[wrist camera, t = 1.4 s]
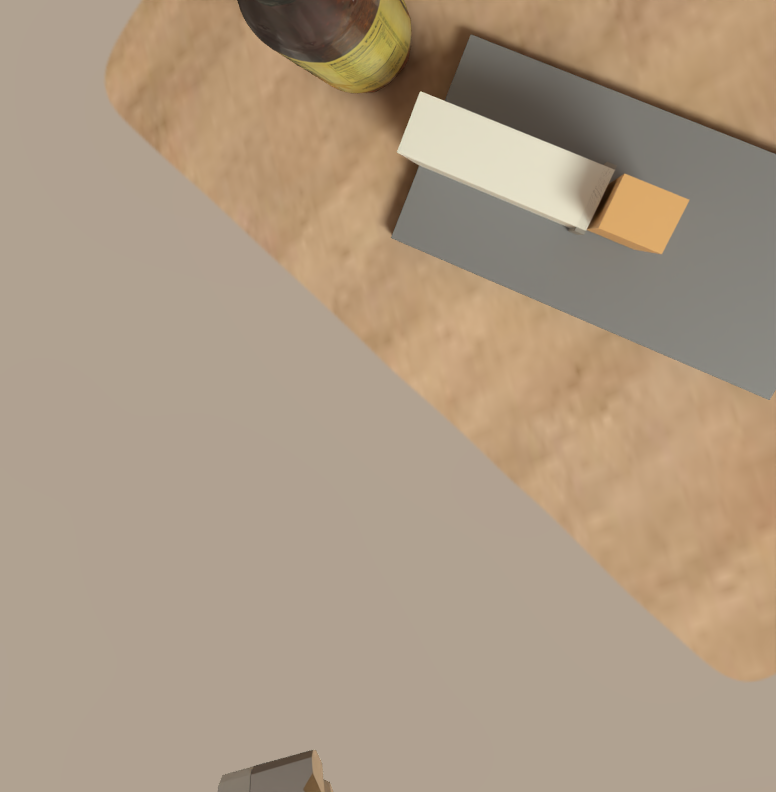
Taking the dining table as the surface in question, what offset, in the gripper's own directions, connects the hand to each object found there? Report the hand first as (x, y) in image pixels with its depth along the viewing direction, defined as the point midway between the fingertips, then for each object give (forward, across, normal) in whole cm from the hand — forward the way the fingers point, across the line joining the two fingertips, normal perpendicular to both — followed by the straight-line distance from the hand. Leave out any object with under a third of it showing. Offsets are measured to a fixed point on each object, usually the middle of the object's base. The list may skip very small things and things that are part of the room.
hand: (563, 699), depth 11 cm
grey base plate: (+31, -16, +1) cm, 35 cm away
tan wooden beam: (+30, -15, +1) cm, 33 cm away
